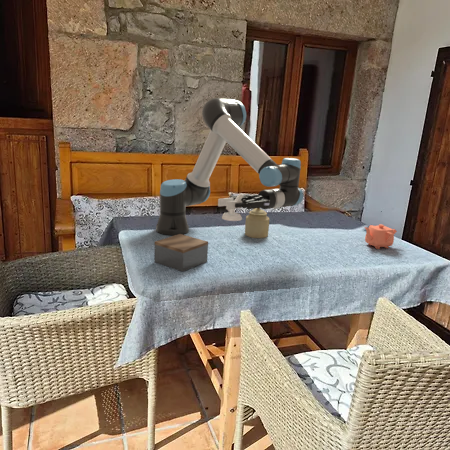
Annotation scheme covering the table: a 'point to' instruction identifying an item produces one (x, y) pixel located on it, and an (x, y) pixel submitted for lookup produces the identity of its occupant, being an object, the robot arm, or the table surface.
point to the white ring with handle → (233, 212)
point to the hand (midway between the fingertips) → (222, 204)
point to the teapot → (379, 236)
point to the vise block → (180, 252)
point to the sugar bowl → (257, 224)
